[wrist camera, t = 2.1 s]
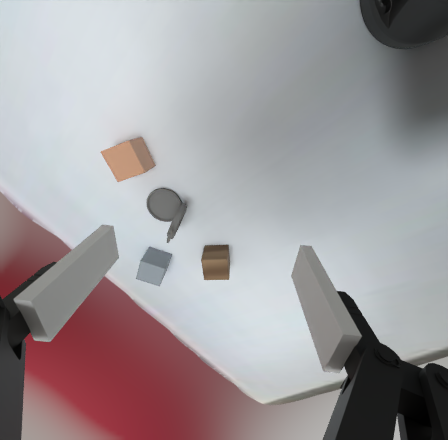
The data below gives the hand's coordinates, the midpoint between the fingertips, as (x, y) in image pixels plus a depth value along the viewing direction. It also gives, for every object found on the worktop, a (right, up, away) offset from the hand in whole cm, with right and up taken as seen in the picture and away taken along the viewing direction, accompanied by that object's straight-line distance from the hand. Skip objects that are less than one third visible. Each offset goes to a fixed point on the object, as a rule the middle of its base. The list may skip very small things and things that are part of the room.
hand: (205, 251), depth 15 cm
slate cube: (-13, -6, +32) cm, 35 cm away
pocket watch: (-9, +5, +26) cm, 28 cm away
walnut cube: (0, -5, +31) cm, 31 cm away
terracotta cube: (-14, +13, +22) cm, 29 cm away
